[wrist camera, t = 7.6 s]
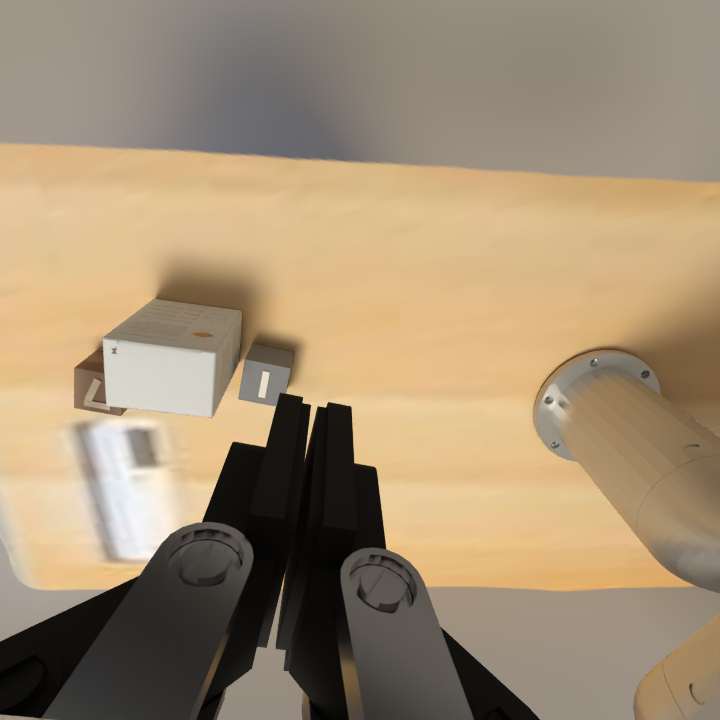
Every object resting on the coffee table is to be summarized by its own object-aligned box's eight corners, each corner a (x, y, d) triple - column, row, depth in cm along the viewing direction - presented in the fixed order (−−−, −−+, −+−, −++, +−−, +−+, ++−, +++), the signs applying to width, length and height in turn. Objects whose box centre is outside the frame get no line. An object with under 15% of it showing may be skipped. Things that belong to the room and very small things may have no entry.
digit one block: (294, 351, 44) (290, 369, 41) (287, 387, 46) (282, 408, 42) (252, 342, 44) (244, 360, 40) (246, 379, 45) (238, 400, 42)
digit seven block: (140, 358, 44) (121, 377, 40) (138, 395, 46) (120, 416, 42) (96, 350, 44) (73, 368, 40) (95, 387, 45) (73, 408, 41)
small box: (154, 353, 44) (102, 407, 34) (154, 296, 42) (98, 337, 32) (240, 364, 45) (212, 421, 35) (244, 309, 42) (216, 352, 33)
